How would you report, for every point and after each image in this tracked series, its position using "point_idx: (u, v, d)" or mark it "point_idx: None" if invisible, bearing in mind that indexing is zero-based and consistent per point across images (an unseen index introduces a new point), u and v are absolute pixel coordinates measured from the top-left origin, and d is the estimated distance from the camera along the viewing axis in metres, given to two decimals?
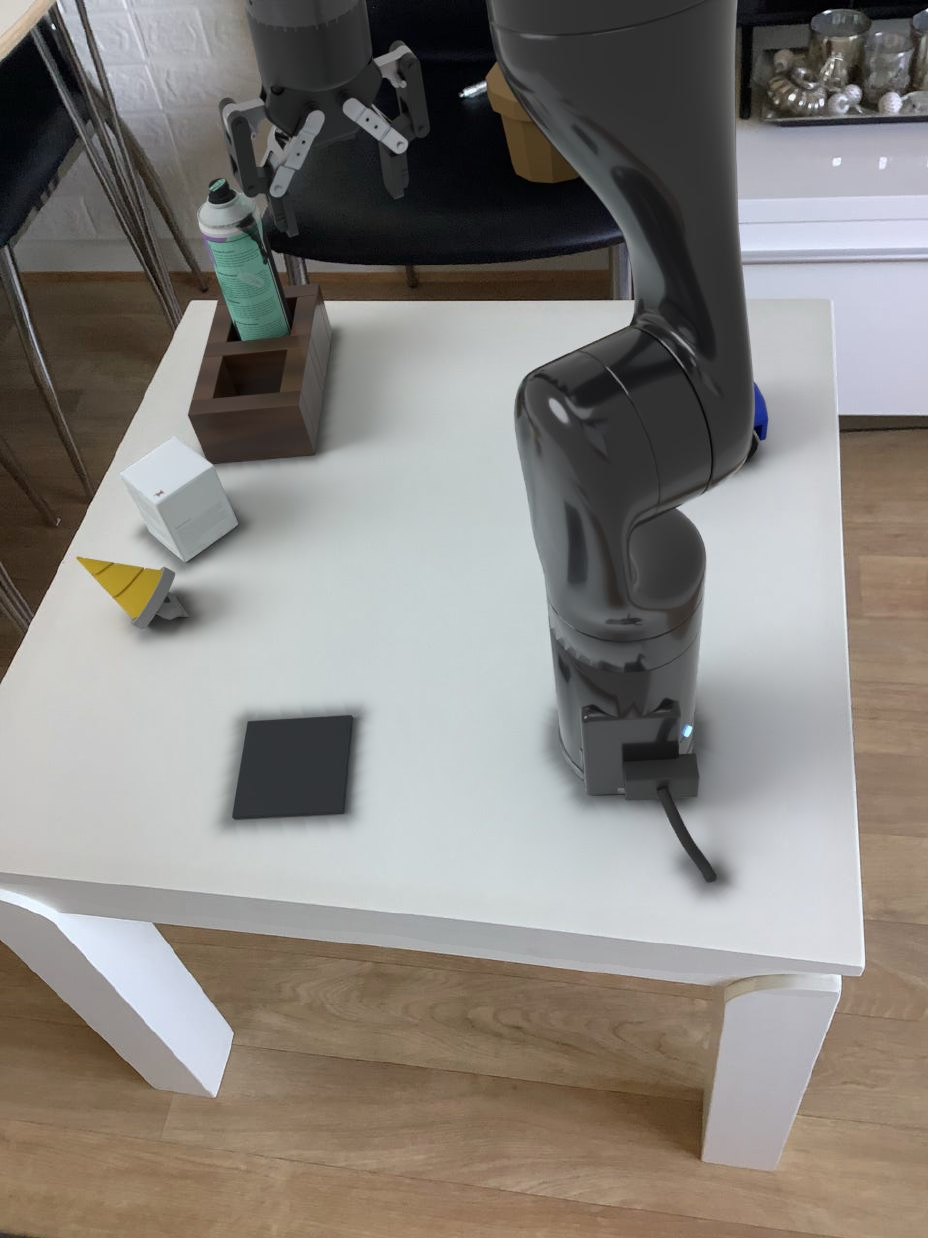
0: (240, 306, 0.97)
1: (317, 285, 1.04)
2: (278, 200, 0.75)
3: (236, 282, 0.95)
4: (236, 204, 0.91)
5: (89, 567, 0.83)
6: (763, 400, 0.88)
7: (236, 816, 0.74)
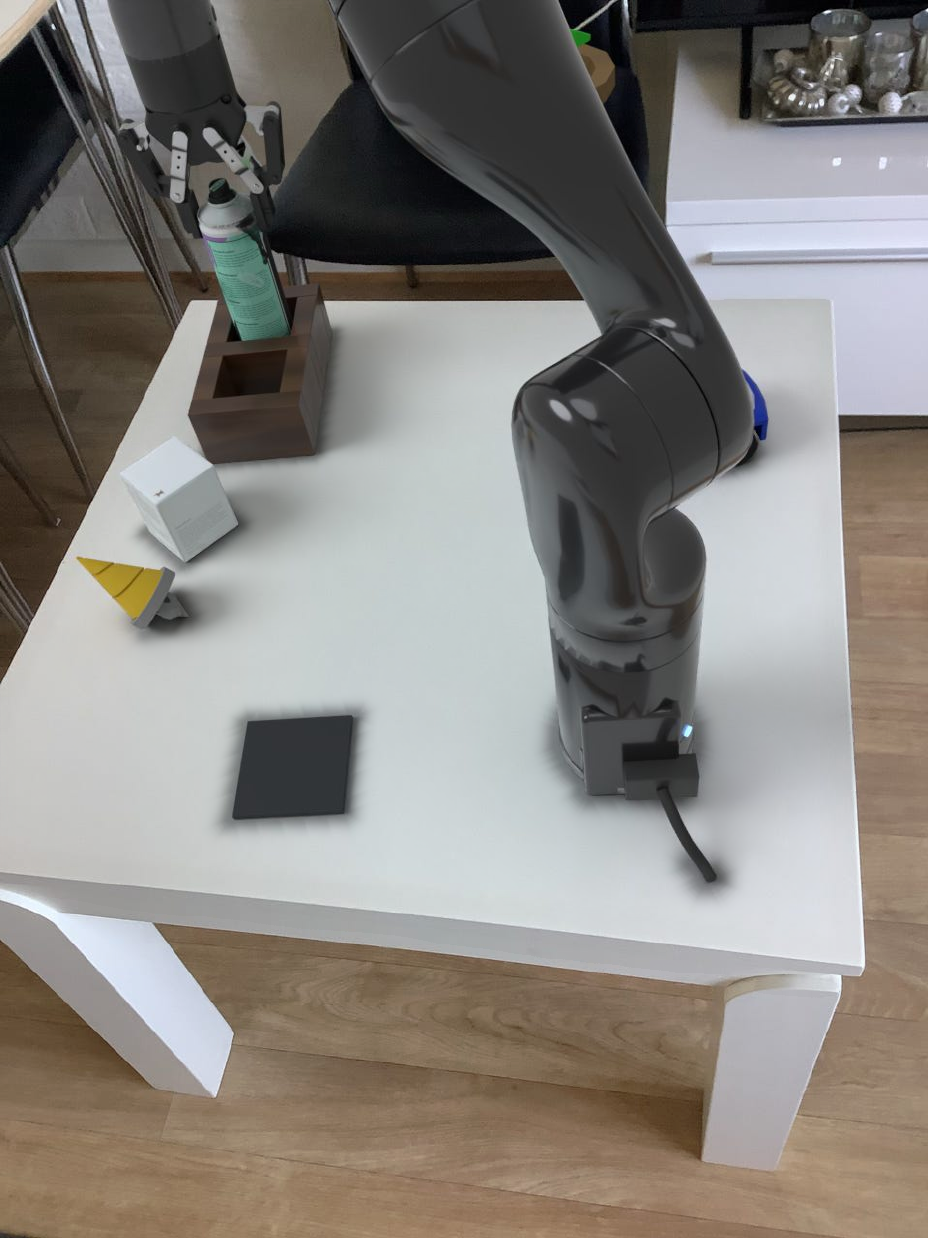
0: (240, 306, 0.97)
1: (317, 285, 1.04)
2: (182, 206, 0.92)
3: (236, 282, 0.95)
4: (236, 204, 0.91)
5: (89, 567, 0.83)
6: (763, 400, 0.88)
7: (236, 816, 0.74)
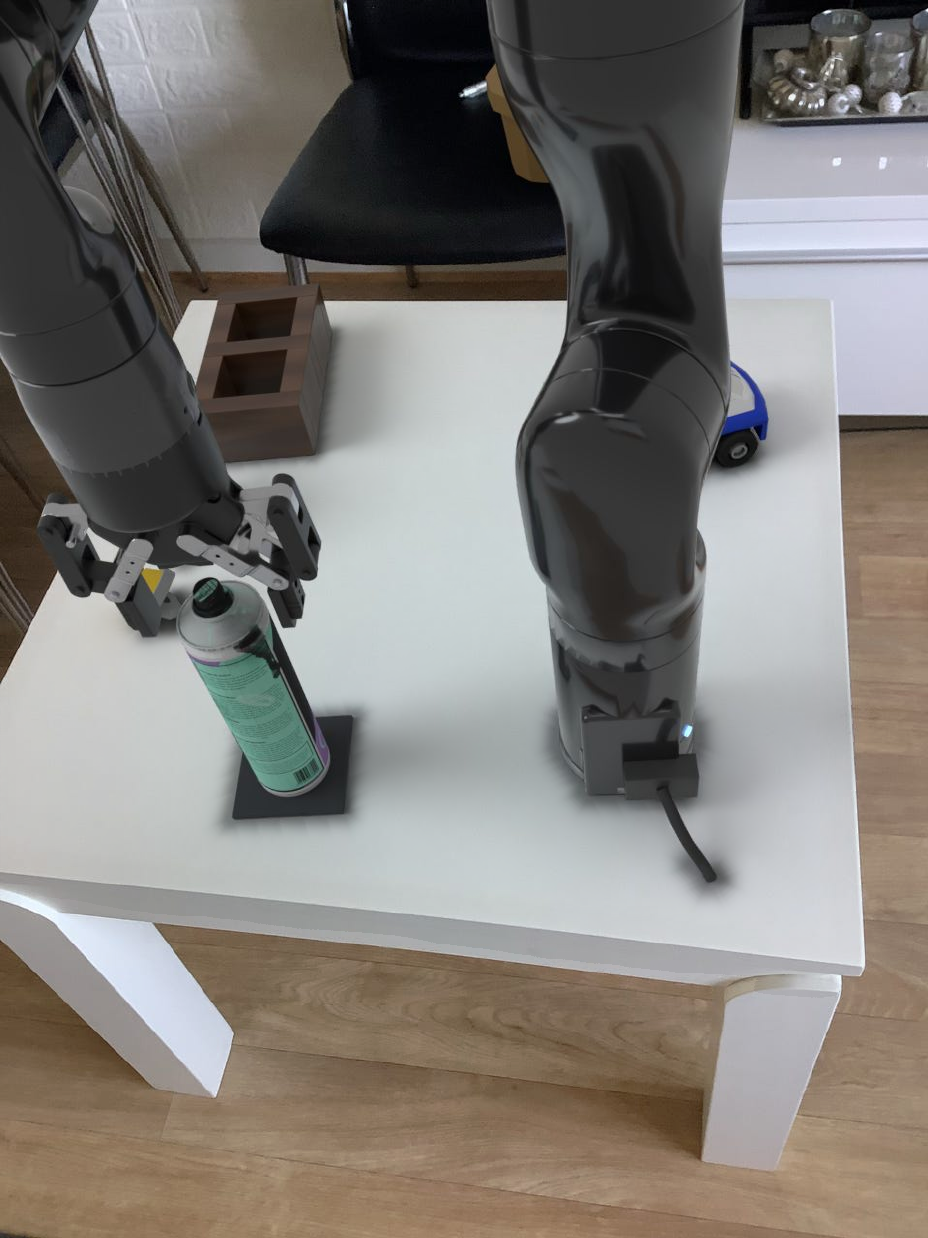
0: (240, 725, 0.67)
1: (317, 285, 1.04)
2: None
3: (234, 704, 0.65)
4: (233, 614, 0.61)
5: None
6: (763, 400, 0.88)
7: (236, 816, 0.74)
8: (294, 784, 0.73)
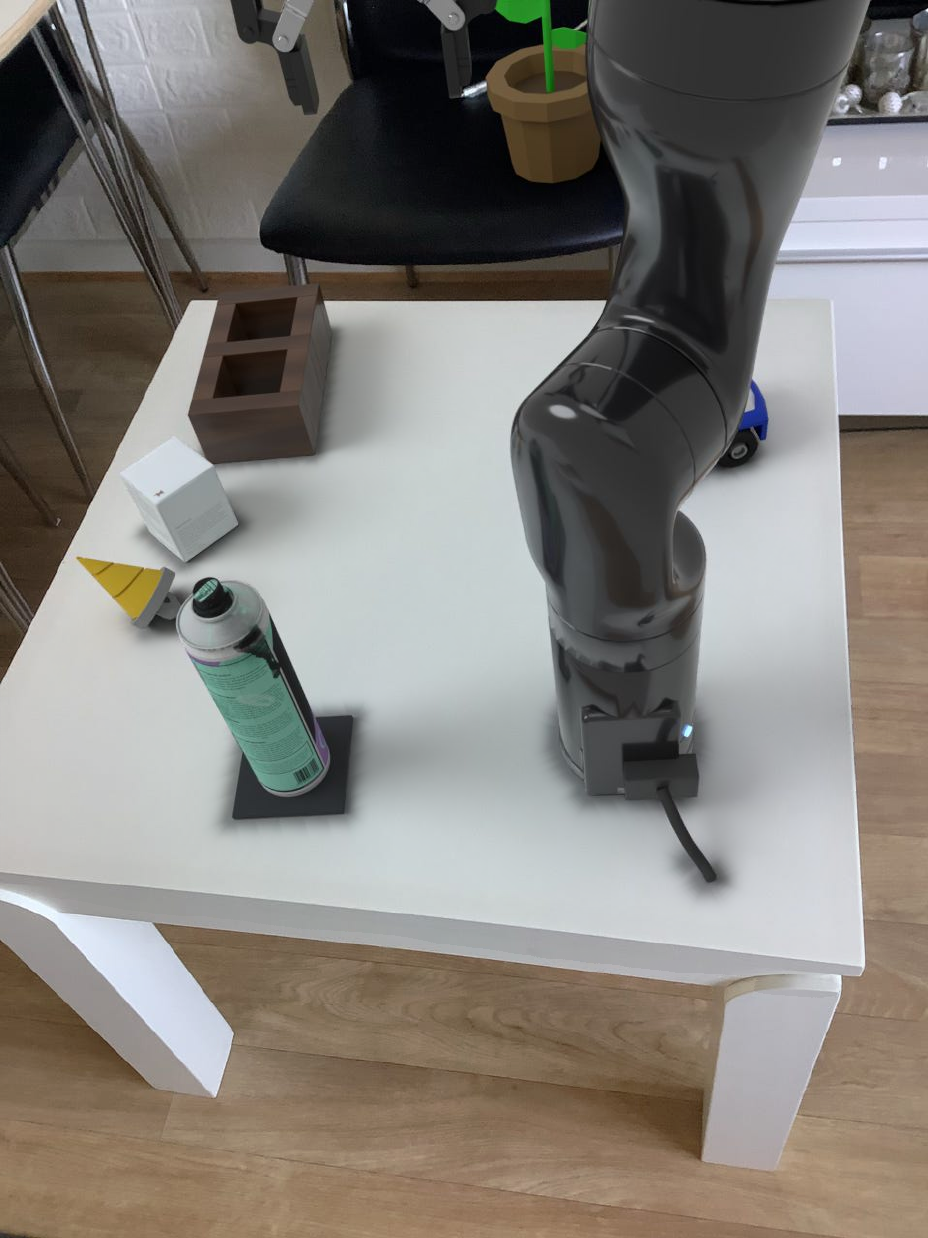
0: (240, 725, 0.67)
1: (317, 285, 1.04)
2: (289, 59, 0.59)
3: (234, 704, 0.65)
4: (233, 614, 0.61)
5: (89, 568, 0.83)
6: (763, 400, 0.88)
7: (236, 816, 0.74)
8: (294, 784, 0.73)
